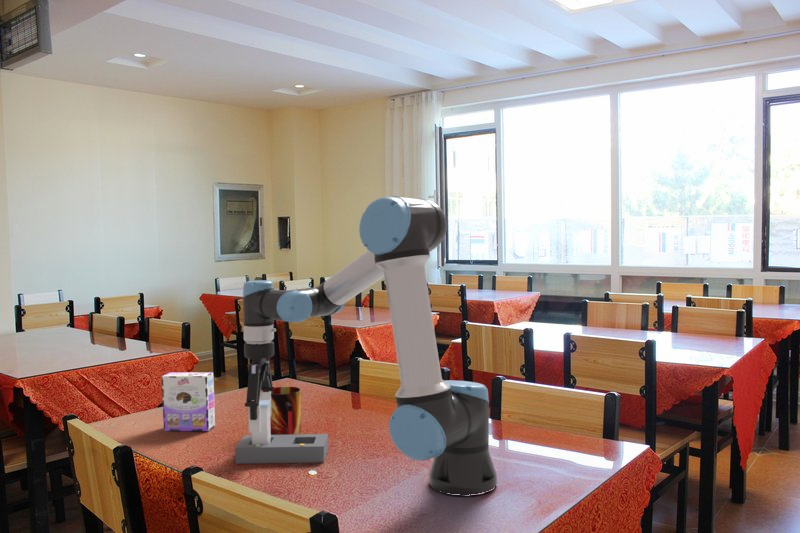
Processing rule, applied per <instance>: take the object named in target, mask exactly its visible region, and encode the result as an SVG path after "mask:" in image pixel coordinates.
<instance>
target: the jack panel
mask: <svg viewBox="0 0 800 533" xmlns="http://www.w3.org/2000/svg"><path fill="white" fill-rule="evenodd" d="M328 451H329V433H317V434H316V433H314V434H313V433H312V434H311V433H309V434H307V433H305V434H303V433H302V434H301V433H300V434H299V433H298V434H294V435H271V443H270V444H256V445H252V434H245V435H244V436H243V437H242V438H241V440H239V442H238V443H237V445H236V446H235V447H234V456H235V460H234V461H235V464H291V463H293V464H294V463H296V464H297V463H300V464H301V463H303V464H304V463H305V464H306V463H309V464H310V463H325V460H326V458H327V454H328Z"/></svg>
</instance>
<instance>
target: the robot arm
mask: <svg viewBox="0 0 800 533" xmlns="http://www.w3.org/2000/svg"><path fill="white" fill-rule="evenodd" d="M447 221H448V220H447V218H446V215H445V212H444V211H443V209H442V208H441V207H440V206H439V205H438V204H437V203H435V202H434V201H431V200H430V199H429V200H428V199H425V198H414V197H413V198H411V197H401V196H395V195H394V196H386V197H385V196H383V197H380V198H377V199H375V200H373V201H372V202H371V203H369V204H368V205H367V207H366V208H365V211H364V212H363V213H362V215H361V217H360V221H359V228H358V229H359V231H358V232H359V237H360V240H361V243H362V244H363V246H364V247H366V249H367V251H365V252H363V253H362V254H361V255H359V256H358V257H357V258H354V260H352V261H351V262H350V263H348V264H347V265H346V266H344V267H343V268H342V269H339V270H338V271H337V272H336V273H334V274H333V275H331V276H330V277H328V278H327V279H326V280H324V282H322V283H321V284H319V285H317V286H315V287H307V288H306V287H305V288H297V289H289V290H288V289H287V290H284V289H283V290H282V289H275V287H274V282H273V281H271V280H261V279H260V280H259V279H258V280H247V281H245V282H244V284H243V286H242V287H243V289H242V306H243V307H242V309H243V314H242V315H243V340H244V343H243V353H244V354H243V356H244V358H246V359H249V360H252V361H251V364H249V365H248V368H247V369H248V378H247V380H248V381H247V389H246V390H247V391H246V402H245V403H244V407H245V408H246V407H247V408H248V433H252V432H261V428H260V405H259V400H271V392H269V391H274V388H275V387H274V386H273V385H274V384H273V378H272V370H271V363H270V358H272V357H274V356H275V342H274V341H273V340H274V339H275V332H277V329H276V328H275V327H274V326H275V324H274V323H275V321H280V322H286V323H287V322H288V323H303V322H305V321H306V320H307V319H310V318H317V317H324V316H332V315H334V314H337V313H340V312H342V310H343V309H344V307H345V305H346V303H347V302H348V301H350V300H351V299H353V298H355V297H356V296H357V295H359V294H360V293H362V292H363V291H365V290H367V289H368V288H370V287H371V286H372V285H374V284H376V283H377V282H379V281H380V280H381V279H383V278H384V280H385V287H386V288H385V289H386V294H387V300H388V301H387V302H388V308H389V314H390V319H391V321H390V322H391V328H392V333H393V341H394V345H395V352H396V359H397V366H398V371H399V378H400V387H399V389H398V390H397V391H396V393H395V395H394V396H395V401H396V408H395V410H394V411H393V412H392V415H391V416H390V418H389V422H388V430H389V431H388V432H389V435H390V439H391V441H392V442H393V444H394V445H395V447H396V448H397V449H398V451H401V452H402V454H403V455H404V456H405V457H407V458H409V459H411V460H414V461H419V462H420V461H421V462H423V461H428V460H430V459H433V461H432V463H431V467H430V469H429V480H428V481H429V485H431V486H432V487H433V488H434V489H433V488H432V487H431V486H430V487H431V488H432V489H433V490H435V489H436V490H438V491H441V492H444V493H450V494H460V495H469V494H470V495H471V494H478V493H482V492H486V491H489V490H491V489H493V488H494V487H495V486H496V484H497V485H498V476H497V475H498V474H497V472H496V467H495V464H494V462H493V460H492V456H491V453H490V450H489V448H490V446H489V444H490V443H489V442H490V441H489V436H490V433H489V432H490V428H489V426H490V425H489V424H490V423H489V422H490V419H489V414H490V410H489V409H490V408H489V406H490V405H489V404H490V399H489V390H488V388H487V386H486V385H485V384H483V383H479V382H475V381H468V380H467V381H466V380H454V379H453V380H451V379H449V380H444V379H443V378H442V377H443V376H442V370H441V366H440V358H439V352H438V345H437V339H436V331H435V327H434V326H435V325H434V321H433V320H434V319H433V314H432V313H433V312H432V306H431V301H430V295H429V294H430V293H429V287H428V281H427V276H426V268H425V265H426V263H427V262H428V260H429V259H430V257H431V255H430V253H431V252H432V251H433V250H435V249H437V247H438V246H440V244H441V243H442V242H443V240H444V239H445V237H446V234H447V231H448V230H447V229H448V228H447V227H448V225H447V224H448V222H447ZM270 416H271V405H270ZM496 487H497V486H496ZM436 490H435V491H436ZM438 491H437V492H438ZM441 492H440V493H441ZM444 493H443V494H444Z"/></svg>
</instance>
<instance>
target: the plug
mask: <svg viewBox="0 0 800 533" xmlns="http://www.w3.org/2000/svg"><path fill="white" fill-rule="evenodd" d="M259 405H260V428H261V432H251V435H252V445H256V444H270V443H271V426H270V405H271V400H259Z"/></svg>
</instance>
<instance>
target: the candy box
mask: <svg viewBox="0 0 800 533" xmlns="http://www.w3.org/2000/svg"><path fill="white" fill-rule="evenodd" d="M214 379H215V378H214V372H212V371H209V372H208V371H207V372H196V371H195V372H193V371H191V372H189V371H187V372H185V371H183V372H182V371H181V372H178V371H177V372H176V371H175V372H172V371H171V372H168V373H166V374H164V375H162V376H161V395H162V399H161V400H162V416H163V418H162V420H163V430H162V431H164V432H209V431H210V430H212V429H213V428H215V427H216V415H215V414H216V410H215V409H216V408H215V407H216V406H215V385H214V384H215V382H214V381H215V380H214Z"/></svg>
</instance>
